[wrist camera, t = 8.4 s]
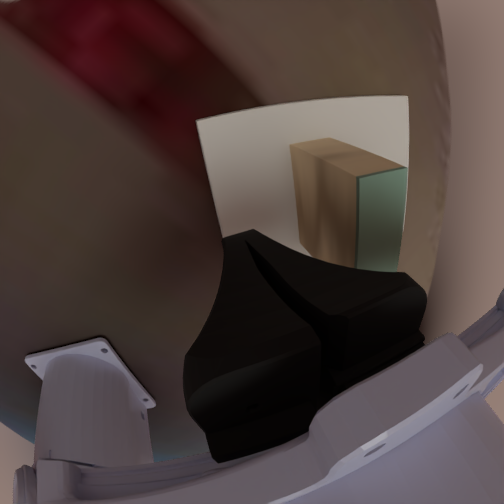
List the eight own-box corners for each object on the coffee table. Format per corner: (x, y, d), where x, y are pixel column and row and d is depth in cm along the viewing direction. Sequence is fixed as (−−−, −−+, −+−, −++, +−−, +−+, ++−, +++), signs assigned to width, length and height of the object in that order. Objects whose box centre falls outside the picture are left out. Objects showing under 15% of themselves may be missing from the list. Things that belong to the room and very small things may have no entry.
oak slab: (334, 231, 18) (393, 287, 13) (299, 242, 17) (353, 305, 13) (329, 137, 15) (407, 167, 10) (289, 144, 14) (359, 178, 9)
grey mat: (398, 227, 20) (403, 231, 20) (234, 282, 18) (236, 288, 18) (401, 95, 15) (407, 96, 14) (195, 120, 13) (196, 121, 12)
